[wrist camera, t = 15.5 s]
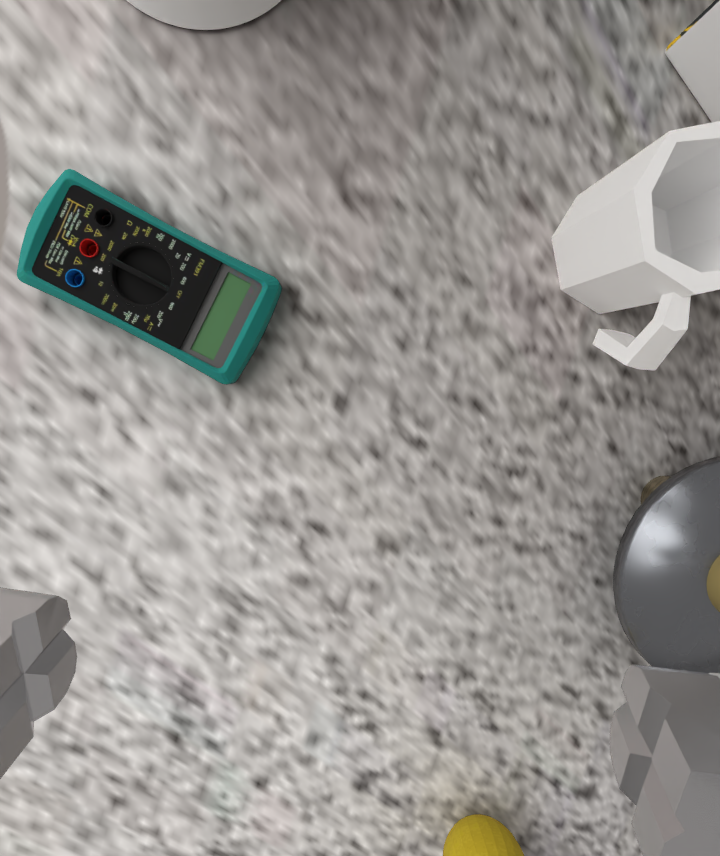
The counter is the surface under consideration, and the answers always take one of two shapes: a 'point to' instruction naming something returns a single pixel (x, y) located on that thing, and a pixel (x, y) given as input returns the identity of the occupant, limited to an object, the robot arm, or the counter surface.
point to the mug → (647, 241)
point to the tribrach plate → (672, 571)
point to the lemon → (480, 838)
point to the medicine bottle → (700, 59)
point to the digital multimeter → (147, 277)
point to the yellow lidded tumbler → (714, 584)
